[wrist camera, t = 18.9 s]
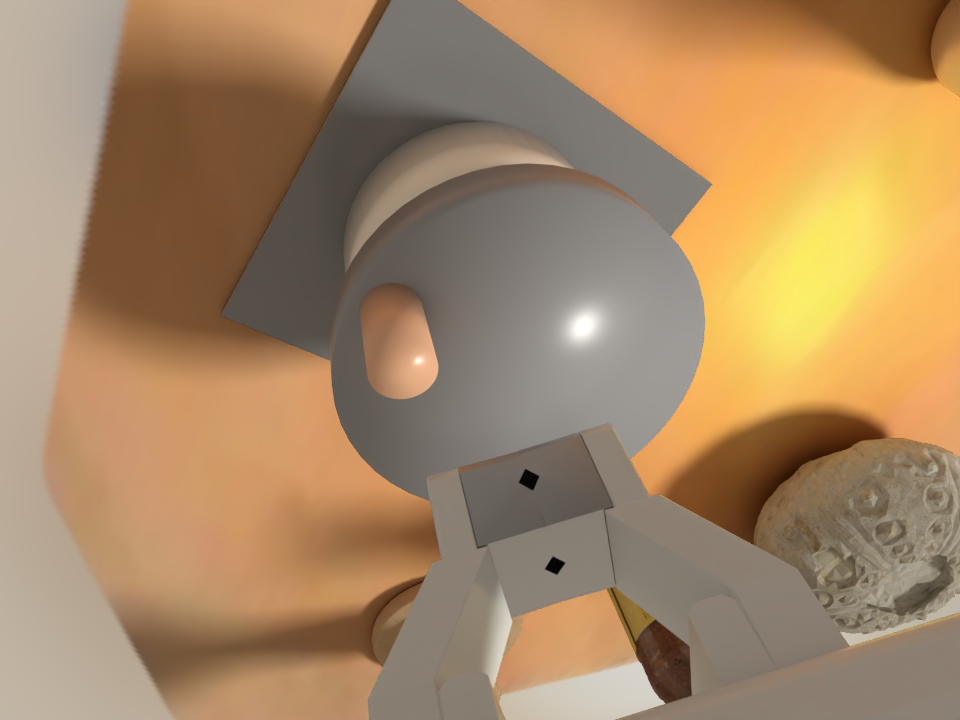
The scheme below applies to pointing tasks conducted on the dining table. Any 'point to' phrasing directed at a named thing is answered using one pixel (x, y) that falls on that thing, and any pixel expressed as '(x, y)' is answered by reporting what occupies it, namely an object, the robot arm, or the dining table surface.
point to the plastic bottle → (947, 47)
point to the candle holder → (395, 617)
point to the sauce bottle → (655, 649)
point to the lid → (511, 322)
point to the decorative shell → (871, 531)
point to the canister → (433, 155)
